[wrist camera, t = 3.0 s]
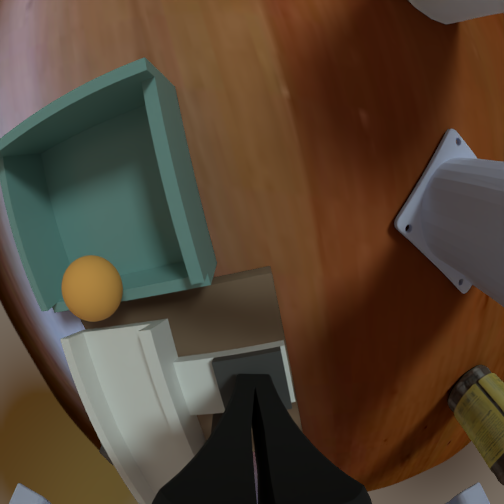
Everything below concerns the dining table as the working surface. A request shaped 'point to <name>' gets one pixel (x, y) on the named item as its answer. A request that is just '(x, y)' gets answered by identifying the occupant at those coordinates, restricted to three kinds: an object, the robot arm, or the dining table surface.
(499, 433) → the sauce bottle
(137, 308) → the stand
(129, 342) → the tray
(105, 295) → the ball
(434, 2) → the foam cup
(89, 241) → the teal open box
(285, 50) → the dining table surface
